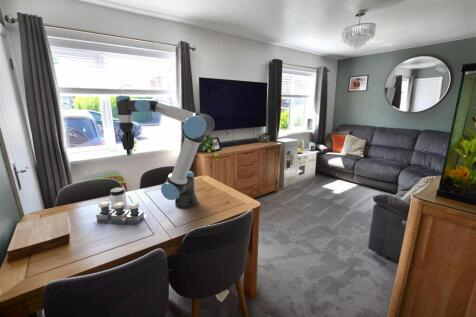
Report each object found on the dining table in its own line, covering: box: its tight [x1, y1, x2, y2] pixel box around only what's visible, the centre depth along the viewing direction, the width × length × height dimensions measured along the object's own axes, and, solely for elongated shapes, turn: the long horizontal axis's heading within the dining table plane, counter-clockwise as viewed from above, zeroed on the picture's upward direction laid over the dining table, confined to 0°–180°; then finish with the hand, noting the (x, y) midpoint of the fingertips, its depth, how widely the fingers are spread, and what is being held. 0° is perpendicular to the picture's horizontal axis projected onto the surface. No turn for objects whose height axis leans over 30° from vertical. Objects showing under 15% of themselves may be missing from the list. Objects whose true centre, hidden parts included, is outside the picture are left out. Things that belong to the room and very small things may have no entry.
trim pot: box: [120, 213, 127, 224], centre depth 125 cm, size 3×3×5 cm
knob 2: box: [127, 202, 140, 216], centre depth 128 cm, size 6×6×9 cm
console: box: [93, 208, 148, 227], centre depth 130 cm, size 26×12×5 cm, turn 85°
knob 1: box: [98, 200, 111, 214], centre depth 130 cm, size 6×6×9 cm
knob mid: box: [113, 202, 126, 215], centre depth 129 cm, size 6×6×9 cm
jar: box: [109, 187, 128, 208], centre depth 146 cm, size 9×8×12 cm
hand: (130, 159), depth 140 cm, fingers closed
